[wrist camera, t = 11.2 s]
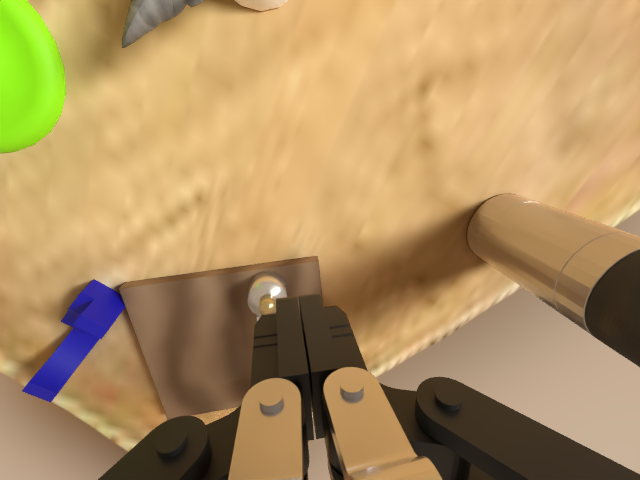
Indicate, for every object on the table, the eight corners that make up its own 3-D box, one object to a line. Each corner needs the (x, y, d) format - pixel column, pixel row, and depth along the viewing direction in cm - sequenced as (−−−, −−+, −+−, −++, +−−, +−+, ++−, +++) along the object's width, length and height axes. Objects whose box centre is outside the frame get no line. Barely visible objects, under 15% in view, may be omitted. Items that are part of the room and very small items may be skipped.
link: (246, 273, 38) (244, 294, 34) (284, 269, 38) (286, 289, 34) (264, 386, 45) (264, 416, 40) (296, 381, 45) (299, 410, 41)
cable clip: (94, 278, 37) (64, 307, 32) (131, 298, 39) (108, 329, 34) (43, 347, 40) (6, 385, 34) (79, 363, 41) (50, 402, 36)
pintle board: (316, 255, 40) (325, 280, 34) (328, 381, 48) (337, 419, 42) (124, 282, 38) (97, 313, 32) (170, 410, 46) (156, 454, 40)
